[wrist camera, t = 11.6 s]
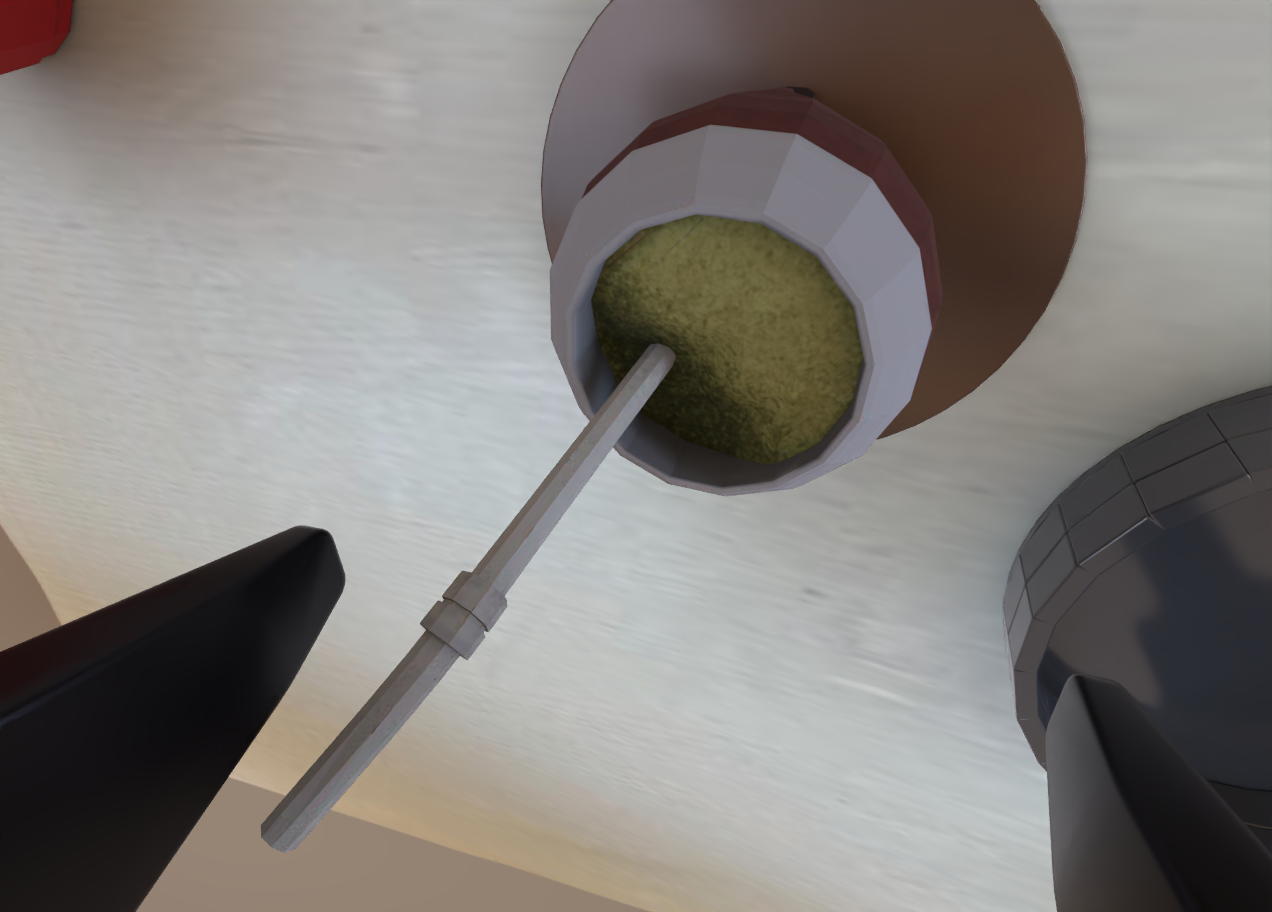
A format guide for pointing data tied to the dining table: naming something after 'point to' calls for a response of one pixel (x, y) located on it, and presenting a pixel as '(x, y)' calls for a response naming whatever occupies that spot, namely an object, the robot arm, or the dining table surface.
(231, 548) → the dining table surface
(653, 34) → the disc
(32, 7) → the plastic cup
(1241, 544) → the pan
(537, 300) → the dining table surface
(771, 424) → the mate gourd
